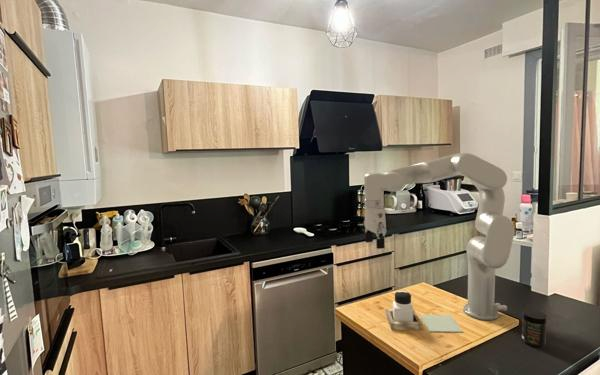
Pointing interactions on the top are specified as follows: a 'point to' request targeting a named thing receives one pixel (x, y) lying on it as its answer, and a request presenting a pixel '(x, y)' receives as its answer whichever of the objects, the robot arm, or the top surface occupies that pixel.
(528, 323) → the supplement container
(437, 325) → the mat
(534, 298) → the top surface
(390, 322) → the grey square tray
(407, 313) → the medicine bottle
